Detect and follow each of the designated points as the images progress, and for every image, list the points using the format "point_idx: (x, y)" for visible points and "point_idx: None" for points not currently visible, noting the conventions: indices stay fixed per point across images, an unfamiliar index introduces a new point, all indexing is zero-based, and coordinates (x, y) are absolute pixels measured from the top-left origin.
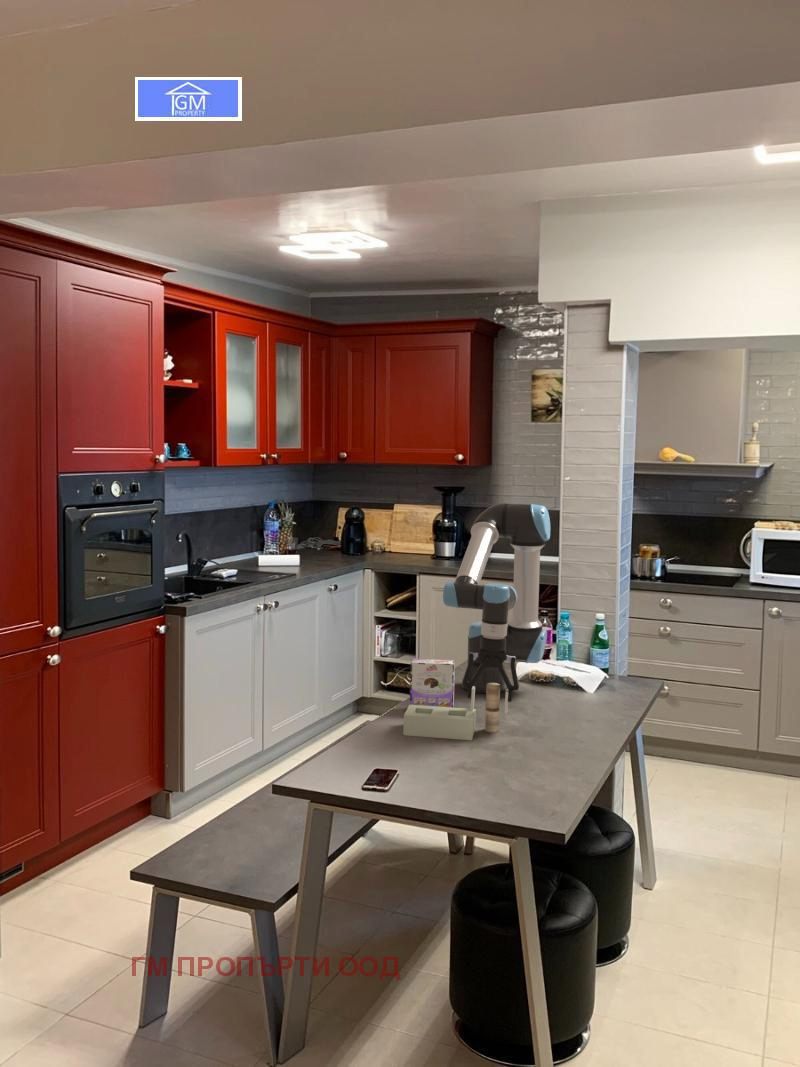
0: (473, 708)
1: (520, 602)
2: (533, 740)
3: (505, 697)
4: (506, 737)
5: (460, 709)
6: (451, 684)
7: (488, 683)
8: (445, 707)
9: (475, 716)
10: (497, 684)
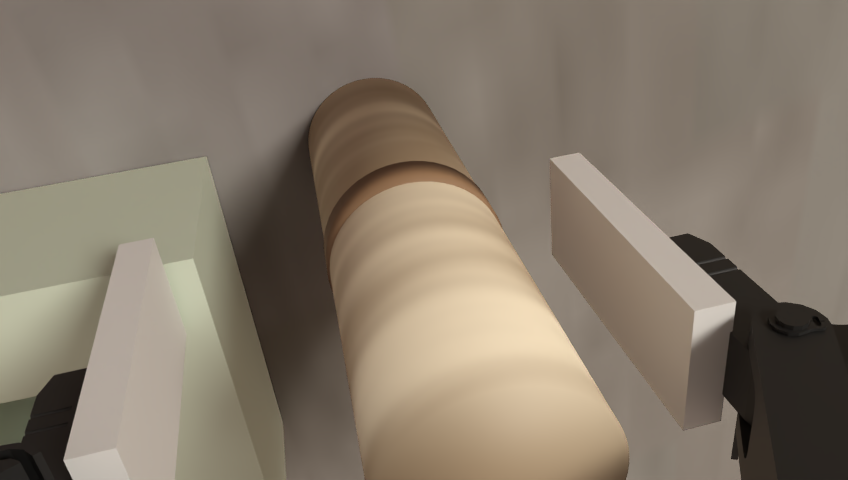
0: (171, 293)
1: None
2: (728, 234)
3: (641, 372)
4: (525, 256)
5: (15, 344)
6: None
7: (396, 466)
8: None
9: (199, 216)
10: (579, 447)
